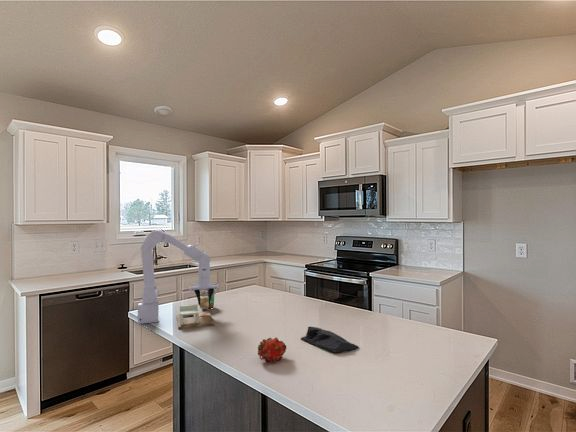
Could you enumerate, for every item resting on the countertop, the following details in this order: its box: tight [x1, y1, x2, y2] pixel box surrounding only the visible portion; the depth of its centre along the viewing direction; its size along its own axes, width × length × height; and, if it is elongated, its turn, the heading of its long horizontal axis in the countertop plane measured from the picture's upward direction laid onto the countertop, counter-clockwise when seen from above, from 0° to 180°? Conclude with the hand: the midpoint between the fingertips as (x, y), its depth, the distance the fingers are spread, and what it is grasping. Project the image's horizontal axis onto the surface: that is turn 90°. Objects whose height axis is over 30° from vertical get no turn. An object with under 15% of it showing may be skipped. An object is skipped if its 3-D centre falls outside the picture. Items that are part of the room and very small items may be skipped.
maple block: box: [199, 296, 209, 309], centre depth 166 cm, size 4×4×5 cm
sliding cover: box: [179, 303, 200, 325], centre depth 154 cm, size 8×7×7 cm
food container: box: [200, 289, 217, 311], centre depth 182 cm, size 12×6×10 cm, turn 179°
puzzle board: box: [176, 311, 216, 330], centre depth 159 cm, size 16×20×1 cm
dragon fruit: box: [257, 337, 287, 363], centre depth 116 cm, size 8×8×12 cm
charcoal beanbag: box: [300, 326, 360, 354], centre depth 131 cm, size 15×22×5 cm
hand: (204, 304), depth 166 cm, fingers closed on maple block, 4 cm apart
